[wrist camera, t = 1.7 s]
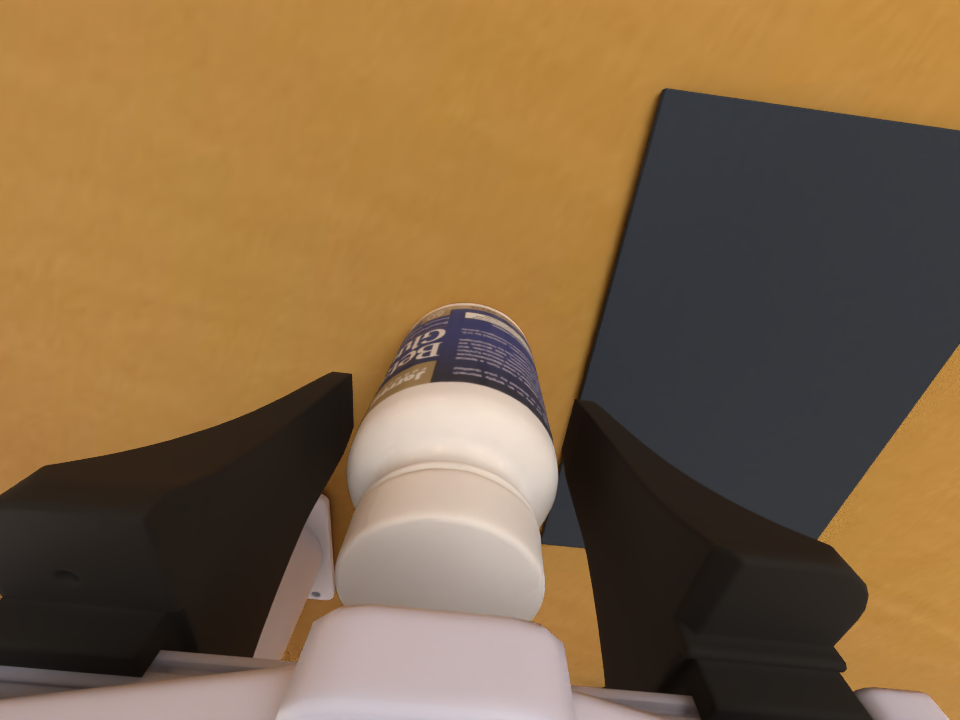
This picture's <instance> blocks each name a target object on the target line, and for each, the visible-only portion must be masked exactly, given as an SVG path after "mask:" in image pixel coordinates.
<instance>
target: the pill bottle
mask: <svg viewBox="0 0 960 720" xmlns="http://www.w3.org/2000/svg"><path fill="white" fill-rule="evenodd" d="M347 485H348V490H349V494H350V498H351V500H352V503H353V505H354V507H355V509H356V510H355V512H354V514H353V516H352V519H351V521H350V524H349V527H348V530H347V533H346V536H345V538H344V541H343V544H342V546H341V549H340V551H339V554H338V557H337V561H336V564H335V571H334V581H335V585H336V590H337V593H338V596H339V598H340V600H341V602H342V603H343V605H344V606H348V605H362V604H378V605H389V606H400V607H411V608H422V609H432V610H443V611H454V612H465V613H476V614H486V615H497V616H508V617H515V618H519V619H523V620H526V621H531V620H532V619H533V618H534V617H535V615H536V614H537V612H538V611H539V609H540V607H541V604H542V601H543V598H544V592H545V576H544V567H543V559H542V551H541V536H540V531H539V528H540V526H541V525H542V524H543V522H544V521H545V519H546V517H547V515H548V513H549V512H550V510H551V508H552V505H553V503H554V500H555V497H556V492H557V486H558V467H557V459H556V453H555V448H554V444H553V438H552V435H551V431H550V427H549V423H548V419H547V414H546V410H545V406H544V402H543V397H542V393H541V389H540V385H539V381H538V376H537V372H536V368H535V364H534V359H533V355H532V352H531V349H530V346H529V344H528V341H527V339H526V337H525V335H524V334H523V332H522V331H521V329H520V328H519V327H518V326H517V325H516V324H515V323H514V322H513V321H512V320H511V319H510V318H509V317H507V316H506V315H505V314H503V313H501V312H499V311H498V310H495V309H493V308H490V307H488V306H485V305H480V304H474V303H455V304H449V305H445V306H442V307H440V308H437V309H435V310H433V311H431V312H429V313H428V314H426V315H425V316H424V317H422V318H421V319H420V320H419V321H418V322H417V323H416V324H415V325H414V326H413V327H412V329H411V330H410V331H409V333H408V334H407V336H406V337H405V339H404V341H403V343H402V345H401V347H400V349H399V350H398V352H397V354H396V356H395V358H394V360H393V362H392V364H391V366H390V368H389V370H388V372H387V374H386V376H385V378H384V380H383V382H382V383H381V385H380V388H379V389H378V391H377V393H376V395H375V397H374V399H373V401H372V403H371V405H370V406H369V408H368V410H367V412H366V414H365V416H364V418H363V420H362V422H361V424H360V426H359V428H358V431H357V433H356V436H355V438H354V440H353V443H352V446H351V449H350V453H349V457H348V463H347Z"/></svg>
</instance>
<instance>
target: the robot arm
mask: <svg viewBox="0 0 960 720" xmlns="http://www.w3.org/2000/svg"><path fill="white" fill-rule="evenodd" d="M353 427H354V420H353V388H352V374H348V373H339V372H331V373H329V374H327V375H325V376H323V377H321V378H319V379H317V380H315V381H313V382H311V383H309V384H307V385H305V386H304V387H302V388H300V389H298V390H296V391H294V392H292V393H290V394H288V395H286V396H285V397H283V398H280V399H278V400H276V401H274V402H272V403H270V404H268V405H266V406H264V407H261V408H259V409H257V410H255V411H253V412H251V413H248V414H246V415H243V416H241V417H239V418H236V419H233V420H231V421H228V422H225V423H223V424H220V425H217V426H214V427H212V428H209V429H205V430H202V431H199V432H196V433H192V434H189V435H186V436H183V437H179V438H176V439H173V440H169V441H165V442H161V443H158V444H154V445H150V446H146V447H141V448H137V449H133V450H128V451H124V452H119V453H114V454H109V455H104V456H99V457H93V458H87V459H82V460H76V461H70V462H65V463H59V464H53V465H46V466H43V467H42V468H40V469H39V470H37V471H36V472H34V473H33V474H31V475H30V476H28V477H27V478H25V479H24V480H22V481H21V482H19V483H18V484H16V485H15V486H13V487H12V488H10V489H9V490H7V491H6V492H4V493H3V494H1V495H0V594H1V595H2V597H3V598H1V599H0V720H949V719H948V717H947V716H946V715H945V714H944V713H943V711H942V710H941V709H940V708H939V707H938V706H937V704H936V703H935V702H934V701H933V700H932V698H931V697H930V696H929V695H928V694H925V693H923V692H920V691H909V690H898V689H887V688H876V687H872V688H863V689H859V690H856V691H854V692H853V691H852V690H851V688H850V687H849V685H848V684H847V683H846V681H845V680H844V678H843V677H842V676H841V674H840V673H839V672H844V671H845V670H846V669H847V667H846V663H845V661H844V660H843V659H842V657H841V656H840V655H839V653H838V652H837V651H836V649H835V648H834V645H835V644H836V643H837V642H838V641H839V640H840V639H841V638H842V637H843V636H844V634H845V633H846V632H847V631H848V630H849V629H850V628H851V627H852V626H853V625H854V624H855V623H856V621H857V620H858V619H859V618H860V616H861V615H862V613H863V612H864V611H865V608H866V604H867V600H868V595H869V594H868V590H867V586H866V584H865V583H864V582H863V580H862V579H861V578H860V577H859V576H858V575H857V574H856V573H855V572H854V570H853V569H852V568H851V567H850V566H849V565H848V564H847V563H846V562H845V560H844V559H843V558H842V557H841V556H840V555H839V554H838V553H837V552H836V550H835V549H834V548H833V547H832V546H830V545H828V544H825V543H823V542H820V541H818V540H816V539H813V538H811V537H808V536H806V535H804V534H801V533H799V532H796V531H794V530H792V529H789V528H787V527H784V526H782V525H780V524H777V523H775V522H773V521H771V520H769V519H767V518H765V517H762V516H760V515H758V514H756V513H754V512H752V511H750V510H748V509H746V508H744V507H742V506H740V505H738V504H736V503H734V502H732V501H730V500H728V499H727V498H725V497H723V496H721V495H720V494H718V493H716V492H714V491H712V490H711V489H709V488H707V487H705V486H704V485H702V484H700V483H699V482H697V481H696V480H694V479H692V478H691V477H689V476H688V475H686V474H685V473H683V472H682V471H680V470H679V469H677V468H676V467H674V466H673V465H671V464H670V463H668V462H667V461H666V460H664V459H663V458H662V457H660V456H659V455H658V454H656V453H655V452H654V451H652V450H651V449H650V448H649V447H647V446H646V445H645V444H644V443H642V442H641V441H640V440H639V439H637V438H636V437H635V436H634V435H633V434H632V433H630V432H629V431H628V430H627V429H626V428H625V427H623V426H622V425H621V424H620V423H619V422H618V421H617V420H615V419H614V418H613V417H612V416H611V415H610V414H609V413H608V412H606V411H605V410H604V409H603V408H602V407H601V406H599V405H598V404H597V403H595V402H594V401H586V400H577V399H575V402H574V405H573V409H572V413H571V417H570V420H569V424H568V428H567V432H566V435H565V439H564V443H563V446H562V456H563V464H564V471H565V477H566V481H567V485H568V488H569V492H570V495H571V499H572V502H573V506H574V509H575V513H576V516H577V520H578V523H579V527H580V530H581V534H582V537H583V541H584V545H585V549H586V554H587V559H588V565H589V571H590V576H591V582H592V588H593V595H594V601H595V608H596V614H597V621H598V628H599V636H600V644H601V652H602V659H603V668H604V677H605V686H606V689H605V688H594V687H582V686H571V685H570V679H569V673H568V667H567V660H566V654H565V648H564V644H563V643H562V642H561V641H560V640H559V639H558V638H556V637H555V636H554V635H553V634H552V633H551V632H549V631H548V630H547V629H546V628H545V627H543V626H542V625H541V624H538V623H534V622H530V621H526V620H523V619H519V618H515V617H508V616H497V615H486V614H476V613H465V612H454V611H443V610H432V609H422V608H411V607H400V606H389V605H378V604H362V605H348V606H341V607H339V608H337V609H335V610H333V611H331V612H330V613H328V614H326V615H324V616H322V617H320V618H318V619H317V620H315V621H313V624H312V626H311V629H310V631H309V634H308V637H307V639H306V642H305V644H304V647H303V649H302V652H301V654H300V657H299V660H298V662H294V661H283V660H281V659H282V657H283V655H284V652H285V650H286V648H287V645H288V643H289V640H290V638H291V636H292V633H293V631H294V629H295V626H296V624H297V622H298V619H299V617H300V615H301V612H302V610H303V608H304V605H305V603H306V600H307V599H318V600H330V599H332V598H333V596H334V594H335V590H336V589H335V581H334V561H333V547H332V533H331V519H330V505H329V499H328V498H327V497H326V496H325V495H323V494H321V493H322V492H323V490H324V488H325V486H326V484H327V483H328V481H329V479H330V477H331V476H332V474H333V472H334V470H335V468H336V466H337V465H338V463H339V461H340V459H341V457H342V455H343V454H344V451H345V449H346V446H347V444H348V441H349V438H350V436H351V433H352V430H353Z"/></svg>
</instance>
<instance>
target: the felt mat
mask: <svg viewBox="0 0 960 720" xmlns="http://www.w3.org/2000/svg"><path fill="white" fill-rule="evenodd" d="M959 344H960V131H959V130H952V129H945V128H938V127H931V126H924V125H917V124H910V123H903V122H896V121H889V120H882V119H876V118H869V117H862V116H855V115H848V114H841V113H834V112H827V111H820V110H813V109H806V108H799V107H792V106H785V105H779V104H772V103H765V102H758V101H751V100H744V99H737V98H730V97H723V96H716V95H709V94H702V93H695V92H688V91H682V90H675V89H668V88H666V89H664V90H662V92H661V96H660V100H659V103H658V107H657V111H656V114H655V118H654V122H653V126H652V129H651V133H650V137H649V140H648V144H647V148H646V151H645V155H644V159H643V162H642V166H641V170H640V173H639V177H638V181H637V184H636V188H635V192H634V196H633V199H632V203H631V207H630V210H629V214H628V218H627V221H626V225H625V229H624V232H623V236H622V240H621V243H620V247H619V251H618V254H617V258H616V262H615V265H614V269H613V273H612V277H611V280H610V284H609V288H608V291H607V295H606V299H605V302H604V306H603V310H602V313H601V317H600V321H599V324H598V328H597V332H596V335H595V339H594V343H593V347H592V350H591V354H590V358H589V361H588V365H587V369H586V372H585V376H584V380H583V383H582V387H581V391H580V394H579V398H578V400H586V401H594V402H595V403H597V404H598V405H599V406H601V407H602V408H603V409H604V410H605V411H606V412H608V413H609V414H610V415H611V416H612V417H613V418H614V419H615V420H617V421H618V422H619V423H620V424H621V425H622V426H623V427H625V428H626V429H627V430H628V431H629V432H630V433H632V434H633V435H634V436H635V437H636V438H637V439H639V440H640V441H641V442H642V443H644V444H645V445H646V446H647V447H649V448H650V449H651V450H652V451H654V452H655V453H656V454H658V455H659V456H660V457H662V458H663V459H664V460H666V461H667V462H668V463H670V464H671V465H673V466H674V467H676V468H677V469H679V470H680V471H682V472H683V473H685V474H686V475H688V476H689V477H691V478H692V479H694V480H696V481H697V482H699V483H700V484H702V485H704V486H705V487H707V488H709V489H711V490H712V491H714V492H716V493H718V494H720V495H721V496H723V497H725V498H727V499H728V500H730V501H732V502H734V503H736V504H738V505H740V506H742V507H744V508H746V509H748V510H750V511H752V512H754V513H756V514H758V515H760V516H762V517H765V518H767V519H769V520H771V521H773V522H775V523H777V524H780V525H782V526H784V527H787V528H789V529H792V530H794V531H796V532H799V533H801V534H804V535H806V536H808V537H811V538H813V539H816V540H817V539H818V538H819V536H820V535H821V533H822V532H823V531H824V529H825V528H826V527H827V525H828V524H829V522H830V521H831V520H832V518H833V517H834V516H835V514H836V513H837V511H838V510H839V509H840V507H841V506H842V505H843V503H844V502H845V500H846V499H847V498H848V496H849V495H850V494H851V492H852V491H853V489H854V488H855V487H856V485H857V484H858V483H859V481H860V480H861V478H862V477H863V476H864V474H865V473H866V472H867V470H868V469H869V468H870V466H871V465H872V463H873V462H874V461H875V459H876V458H877V457H878V455H879V454H880V452H881V451H882V450H883V448H884V447H885V446H886V444H887V443H888V441H889V440H890V439H891V437H892V436H893V435H894V433H895V432H896V430H897V429H898V428H899V426H900V425H901V424H902V422H903V421H904V419H905V418H906V417H907V415H908V414H909V413H910V411H911V410H912V408H913V407H914V406H915V404H916V403H917V402H918V400H919V399H920V397H921V396H922V395H923V393H924V392H925V391H926V389H927V388H928V386H929V385H930V384H931V382H932V381H933V380H934V378H935V377H936V375H937V374H938V373H939V371H940V370H941V369H942V367H943V366H944V364H945V363H946V362H947V360H948V359H949V358H950V356H951V355H952V353H953V352H954V351H955V349H956V348H957V347H958V345H959ZM541 544H547V545H558V546H568V547H578V548H585V545H584V541H583V537H582V534H581V530H580V527H579V523H578V520H577V516H576V513H575V509H574V506H573V502H572V499H571V495H570V492H569V488H568V485H567V481H566V477H565V471H564V464H563V457H562V461H561V464H560V468H559V472H558V486H557V492H556V497H555V500H554V503H553V505H552V508H551V510H550V512H549V513H548V515H547V517H546V520H545V523H544V527H543V531H542V534H541Z"/></svg>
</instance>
